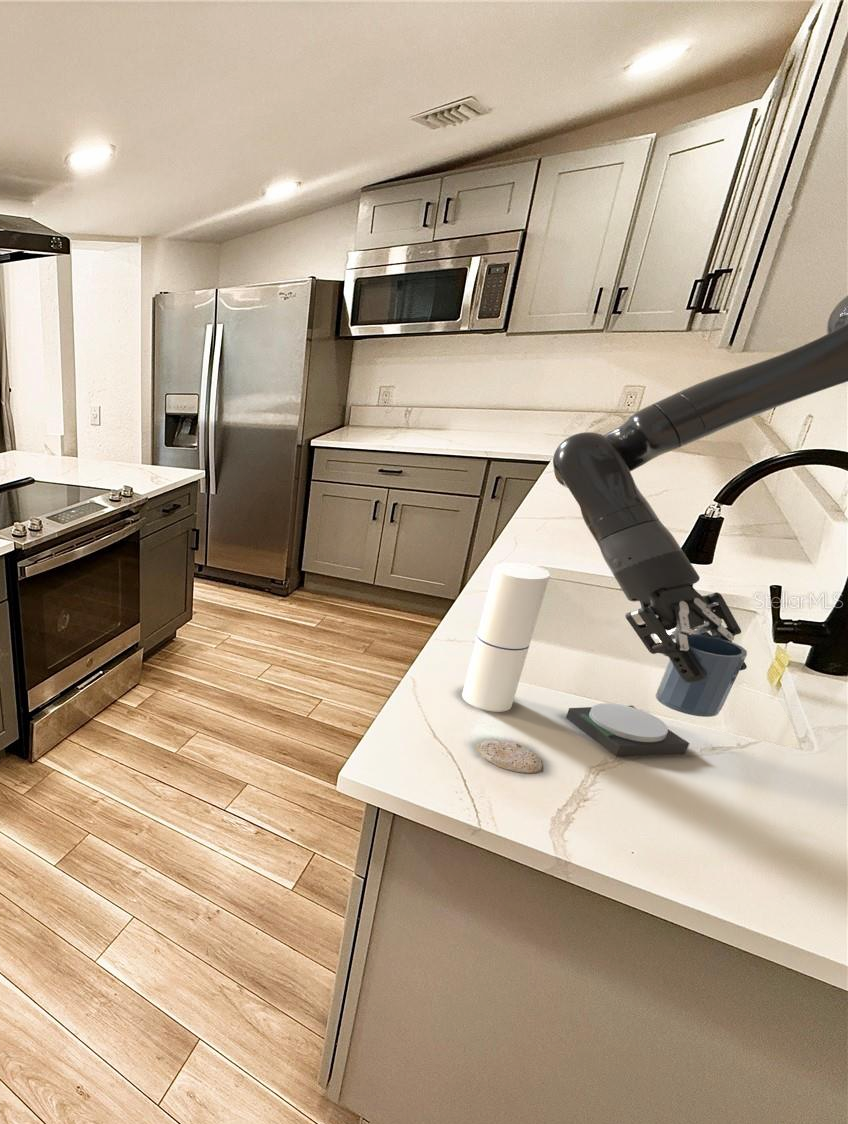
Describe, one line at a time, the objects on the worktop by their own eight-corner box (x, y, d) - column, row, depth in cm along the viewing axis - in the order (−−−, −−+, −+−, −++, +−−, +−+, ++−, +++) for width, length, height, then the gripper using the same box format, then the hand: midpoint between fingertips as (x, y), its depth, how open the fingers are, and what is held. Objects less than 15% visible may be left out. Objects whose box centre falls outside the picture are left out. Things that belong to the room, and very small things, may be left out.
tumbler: (688, 690, 85) (713, 633, 82) (733, 715, 80) (762, 655, 76) (642, 692, 86) (665, 635, 82) (684, 718, 80) (710, 658, 76)
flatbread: (539, 752, 94) (541, 747, 94) (543, 782, 88) (545, 776, 88) (476, 737, 98) (477, 732, 98) (476, 764, 93) (477, 759, 92)
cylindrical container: (455, 703, 107) (488, 571, 97) (469, 687, 111) (501, 559, 101) (503, 719, 102) (543, 582, 92) (516, 702, 106) (555, 569, 96)
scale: (626, 718, 101) (634, 700, 99) (683, 757, 91) (692, 737, 90) (564, 721, 101) (570, 702, 100) (614, 760, 92) (622, 740, 90)
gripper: (633, 556, 80) (708, 678, 74) (714, 541, 83) (793, 658, 77) (579, 579, 87) (644, 693, 81) (656, 565, 90) (724, 673, 84)
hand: (716, 675), depth 79 cm, fingers closed on tumbler, 6 cm apart
